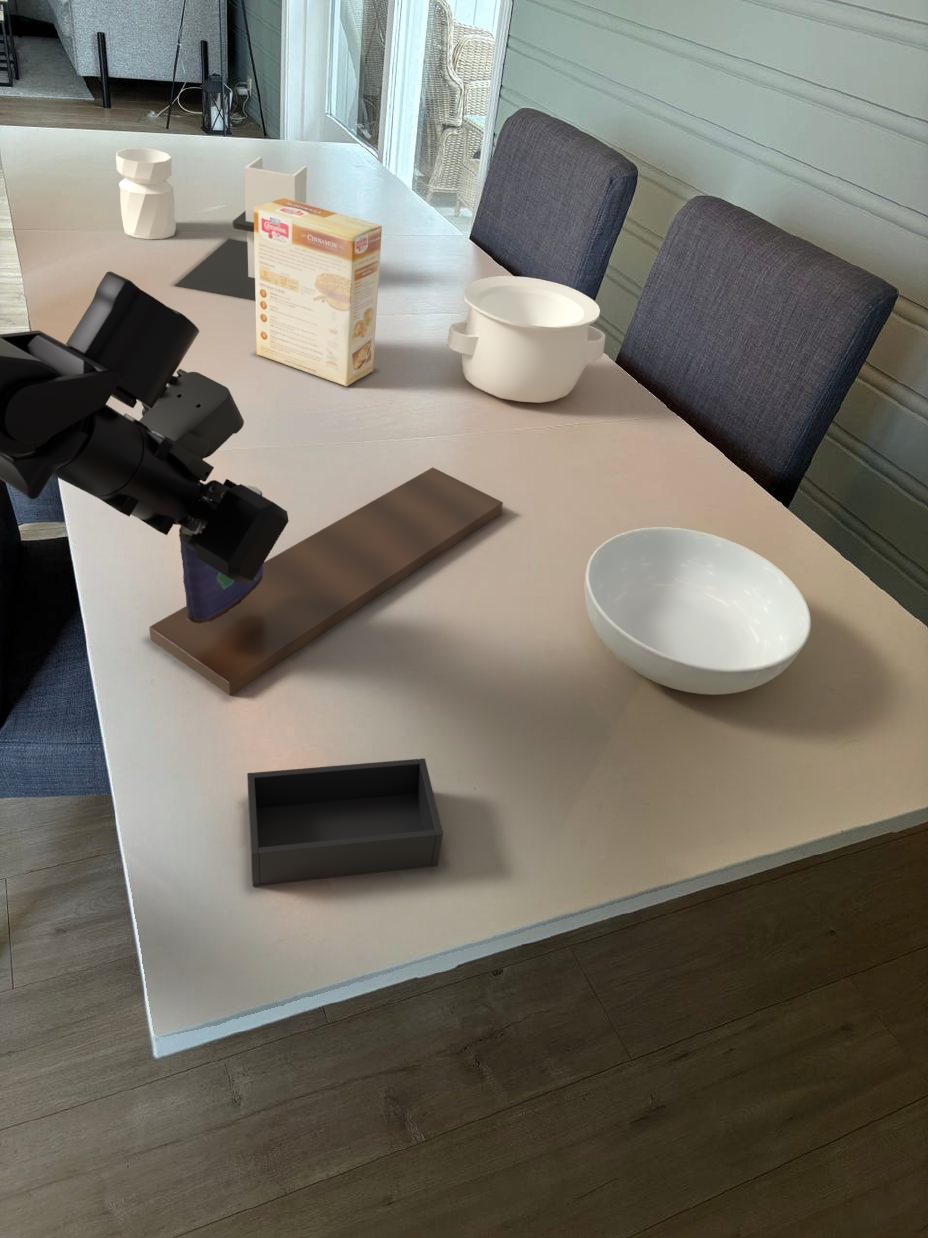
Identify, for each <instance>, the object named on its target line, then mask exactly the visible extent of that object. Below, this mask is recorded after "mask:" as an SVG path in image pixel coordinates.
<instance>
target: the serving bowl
mask: <svg viewBox="0 0 928 1238" xmlns="http://www.w3.org/2000/svg"><path fill="white" fill-rule="evenodd" d="M584 602H585V608H586V612H587V615H588V618H589V621H590V623H591V626H592V627H593V629H594V631H595V633H596V634H597V636H598V638H599V639H600V641H601V642H602V643H603V644H604V646H605V647H606V648H607V649H608V650H609V651H610V653H612V654H613V655H614V656H615V658H617V659H618V660H619V661H620V662H621V663H623V665H625V666H627V667H628V668H629V669H631V670H632V671H634V672H635V673H637V674H639V675H640V676H642V677H643V678H646V679H648V680H650V681H652V682H654V683H656V684H659V685H662V686H664V687H667V688H670V689H674V690H676V691H677V690H678V691H681V692H685V693H690V694H691V693H693V694H699V695H729V694H730V695H731V694H736V693H741V692H744V691H745V692H746V691H748V690H752V689H755V688H757V687H759V686H762V685H764V684H766V683H768V682H770V681H771V680H773V679H775V678H776V677H778V676H779V675H781V674H782V673H783V672H784V671H785V670H786V669H788V667H789V666H791V664H792V663H793V662H794V660H796V659H797V657H798V655H799V654H800V653H801V651H802V650H803V649H804V647H805V646H806V643H807V642H808V640H809V637H810V634H811V629H812V617H811V612H810V609H809V606H808V602H807V600H806V599H805V597H804V595H803V594H802V592H801V591H800V589H799V587H798V586H797V585H796V584H795V582H793V581H792V579H791V578H790V577H789V576H788V575H787V574H786V573H785V572H784V571H783V570H782V569H780V568H779V567H778V566H776V565H775V564H774V563H772V562H771V561H770V560H768V559H767V558H765V557H764V556H763V555H760V554H758V553H757V552H755V551H753V550H752V549H750V548H748V547H746V546H744V545H742V544H739V543H738V542H734V541H732V540H729V539H727V538H724V537H721V536H719V535H716V534H711V533H708V532H703V531H700V530H695V529H689V528H682V527H673V526H671V527H669V526H652V527H642V528H636V529H631V530H628V531H624V532H622V533H619V534H617V535H614V536H612V537H611V538H608V539H607V540H605V541H604V542H603V543H601V544H600V545H599V546H598V547H597V548H596V549H595V550H594V552H593V553H592V554H591V556H590V558H589V559H588V562H587V564H586V567H585V573H584Z"/></svg>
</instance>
